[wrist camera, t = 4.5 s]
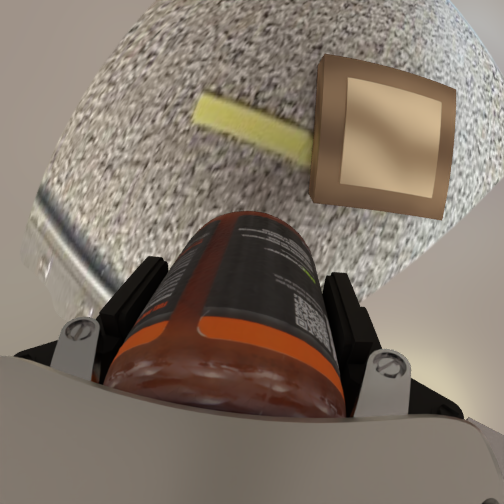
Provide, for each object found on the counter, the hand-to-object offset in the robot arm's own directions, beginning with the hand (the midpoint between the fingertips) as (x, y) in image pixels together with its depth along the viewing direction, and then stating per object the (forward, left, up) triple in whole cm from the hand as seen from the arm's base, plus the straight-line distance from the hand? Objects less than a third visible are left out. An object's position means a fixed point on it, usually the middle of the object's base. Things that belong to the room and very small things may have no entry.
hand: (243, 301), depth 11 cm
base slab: (-7, +10, -17) cm, 21 cm away
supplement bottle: (0, 0, -3) cm, 3 cm away
